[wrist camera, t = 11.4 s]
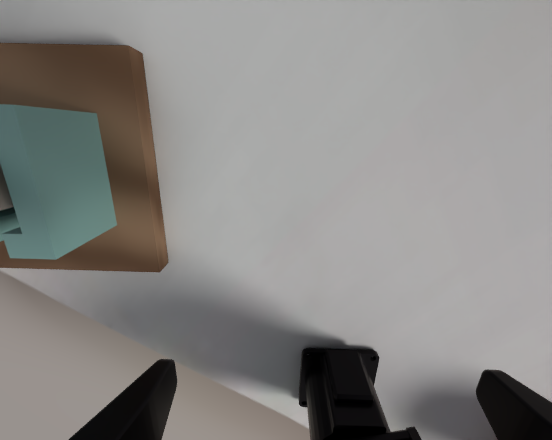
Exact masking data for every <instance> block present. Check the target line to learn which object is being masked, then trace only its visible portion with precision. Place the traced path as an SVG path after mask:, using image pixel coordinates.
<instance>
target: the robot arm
mask: <svg viewBox="0 0 552 440" xmlns="http://www.w3.org/2000/svg"><path fill="white" fill-rule="evenodd" d="M307 354H309V355H307ZM372 356H373V357H372ZM378 362H379V356H378V354H377V352H376V351H374V350H350V349H320V348H306V349H304V350H303V351H302V358H301V373H300V387H299V405H300V406H302V407H307V408H308V419H309V429H310V439H311V440H421V438H420V436H419V434H418V432H417V430H416V429H415V427H409V428H406V430H401V431H395V432H390V429H389V427H388V424H387V421H386V418H385V416H384V413H383V410H382V407H381V405H380V402H379V399H378V397H377V394H376V391H375V388H374V383H375V377H376V372H377V367H378ZM176 387H177V376H176V369H175V362H174V360H172V359H160V360H158V361H157V362H156V363H154V364H153V365H152V366H151V367H150V368H149V369H148V370H146V371H145V372H144V373H143V374H142V375H141V376H140V377H139V378H137V379H136V380H135V381H134V382H133V383H132V384H131V385H130V386H129V387H127V388H126V389H125V390H124V391H123V392H122V393H121V394H119V395H118V396H117V397H116V398H115V399H114V400H113V401H111V402H110V403H109V404H108V405H107V406H106V407H105V408H104V409H103V410H101V411H100V412H99V413H98V414H97V415H96V416H95V417H94V418H92V419H91V420H90V421H89V422H88V423H87V424H86V425H84V426H83V427H82V428H81V429H80V430H79V431H78V432H77V433H75V435H73V436H72V437H71V438H70V439H69V440H161V439H162V436H163V432H164V429H165V425H166V422H167V419H168V415H169V411H170V408H171V405H172V401H173V398H174V394H175V391H176ZM476 395H477V399H478V401H479V403H480V405H481V407H482V409H483V411H484V413H485V415H486V417H487V419H488V421H489V423H490V425H491V427H492V429H493V431H494V433H495V435H496V437H497V439H498V440H552V403H551V402H550V401H548V400H547V399H545V398H544V397H542V396H540V395H539V394H537V393H536V392H534V391H533V390H531V389H529V388H528V387H526V386H525V385H523V384H522V383H520V382H518V381H517V380H515V379H514V378H512V377H511V376H509V375H507V374H506V373H504V372H503V371H500V370H484V371H483V372H482V375H481V377H480V380H479V383H478V386H477V388H476Z"/></svg>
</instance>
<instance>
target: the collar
mask: <svg viewBox="0 0 552 440" xmlns="http://www.w3.org/2000/svg"><path fill="white" fill-rule="evenodd" d="M0 164H1V167H2V170H3V174H4V177H5V180H6V183H7V186H8V190H9V193H10V196H11V199H12V203H13V206H14V207H11V208H8V209H4V210H1V211H0V242H1V241H3V240H4V242H5V245H6V248H7V251H8V254H9V257H10V258H22V259H53V260H56V259H58V258H60V257H62V256H63V255H65V254H67V253H69V252H70V251H72V250H74V249H76V248H78V247H79V246H81V245H83V244H85V243H86V242H88V241H90V240H92V239H93V238H95V237H97V236H99V235H101V234H102V233H104V232H106V231H108V230H109V229H111V228H113V227H115V226H116V225H117V222H116V216H115V211H114V205H113V200H112V194H111V189H110V183H109V178H108V172H107V167H106V162H105V156H104V151H103V145H102V140H101V134H100V129H99V123H98V118H97V113H89V112H79V111H70V110H60V109H51V108H41V107H31V106H22V105H8V104H0Z"/></svg>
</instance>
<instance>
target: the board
mask: <svg viewBox="0 0 552 440" xmlns="http://www.w3.org/2000/svg"><path fill="white" fill-rule="evenodd" d="M0 104H8V105H22V106H31V107H41V108H51V109H60V110H70V111H79V112H89V113H97V118H98V123H99V129H100V134H101V140H102V145H103V151H104V156H105V162H106V167H107V172H108V178H109V183H110V189H111V194H112V200H113V205H114V211H115V216H116V222H117V225H116V226H115V227H113V228H111V229H109V230H108V231H106V232H104V233H102V234H101V235H99V236H97V237H95V238H93V239H92V240H90V241H88V242H86V243H85V244H83V245H81V246H79V247H78V248H76V249H74V250H72V251H70V252H69V253H67V254H65V255H63V256H62V257H60V258H58V259H56V260H53V259H22V258H10V257H9V254H8V251H7V248H6V245H5V242H4V240H3V241H1V242H0V268H32V269H65V270H99V271H133V272H160V271H161V270H162V269H163V268H164V267H165V266H166V265H167V263H168V255H167V247H166V239H165V231H164V223H163V215H162V207H161V199H160V191H159V183H158V175H157V167H156V159H155V150H154V142H153V134H152V126H151V118H150V110H149V102H148V94H147V86H146V78H145V70H144V62H143V54H142V53H141V52H139V51H137V50H135V49H134V48H132V47H130V46H127V45H77V44H28V43H0ZM11 207H14V206H13V203H12V199H11V196H10V193H9V190H8V186H7V183H6V180H5V177H4V174H3V170H2V167H1V164H0V211H1V210H4V209H8V208H11Z"/></svg>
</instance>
